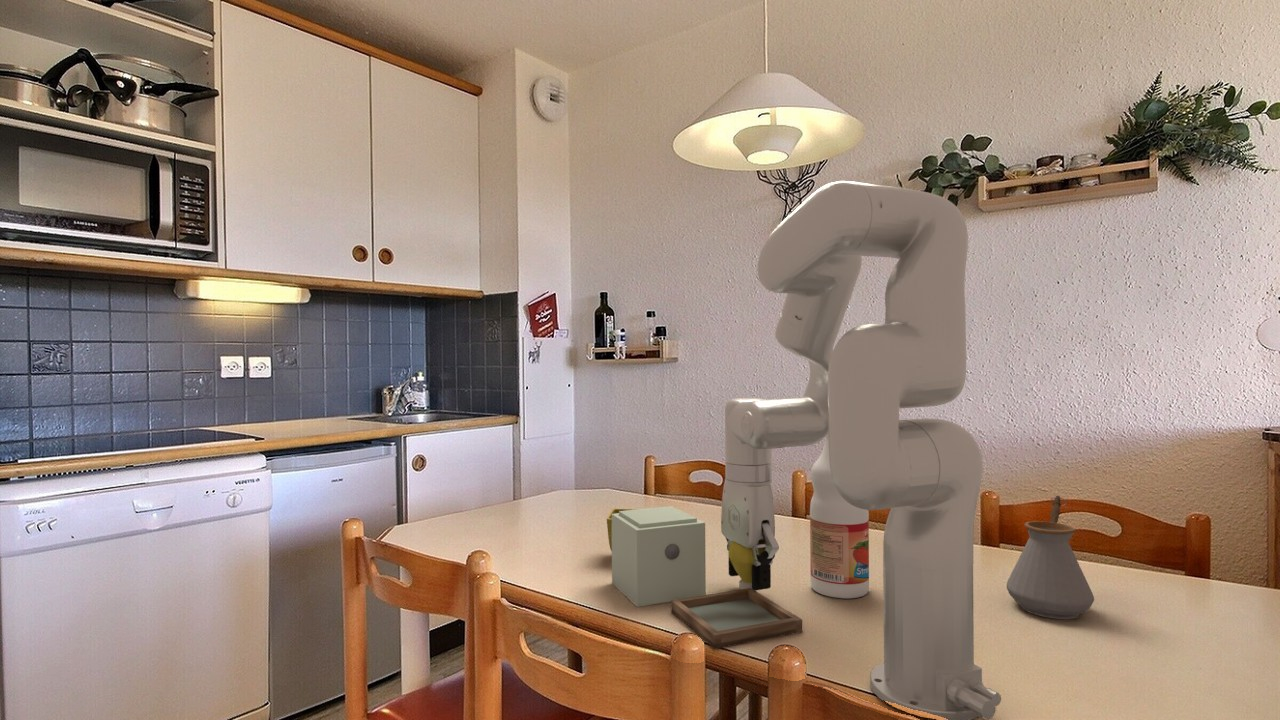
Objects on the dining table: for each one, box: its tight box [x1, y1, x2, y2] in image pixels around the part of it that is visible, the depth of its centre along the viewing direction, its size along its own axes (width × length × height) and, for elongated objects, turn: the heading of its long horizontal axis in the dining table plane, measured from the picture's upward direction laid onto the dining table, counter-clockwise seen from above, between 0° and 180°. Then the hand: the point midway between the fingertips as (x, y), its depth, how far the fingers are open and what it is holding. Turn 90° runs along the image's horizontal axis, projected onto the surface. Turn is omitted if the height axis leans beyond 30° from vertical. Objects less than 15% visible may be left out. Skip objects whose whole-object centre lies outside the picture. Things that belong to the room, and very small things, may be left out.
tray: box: [670, 588, 803, 650], centre depth 98 cm, size 14×14×2 cm
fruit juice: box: [809, 431, 870, 599], centre depth 111 cm, size 9×9×28 cm
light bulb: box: [727, 541, 764, 591], centre depth 109 cm, size 7×7×10 cm
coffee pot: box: [1006, 495, 1095, 620], centre depth 106 cm, size 21×12×15 cm, turn 143°
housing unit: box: [611, 505, 707, 608], centre depth 112 cm, size 13×12×13 cm
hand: (749, 580), depth 109 cm, fingers closed on light bulb, 6 cm apart
